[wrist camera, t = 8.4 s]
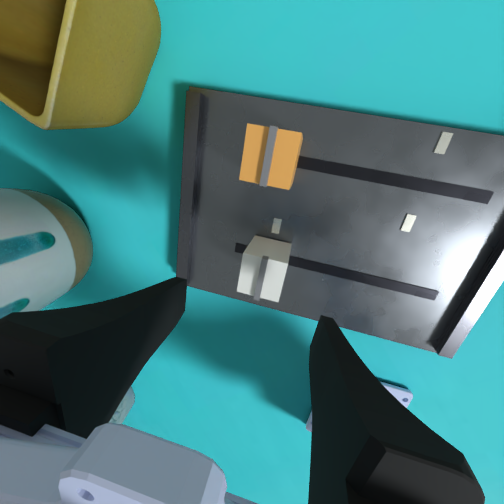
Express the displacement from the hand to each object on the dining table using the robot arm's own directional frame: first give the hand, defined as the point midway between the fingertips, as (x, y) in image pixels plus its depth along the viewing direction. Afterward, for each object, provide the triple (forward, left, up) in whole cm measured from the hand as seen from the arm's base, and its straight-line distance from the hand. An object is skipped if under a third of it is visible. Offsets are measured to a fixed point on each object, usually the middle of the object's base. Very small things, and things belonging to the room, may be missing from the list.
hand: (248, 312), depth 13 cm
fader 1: (+7, +1, -8) cm, 11 cm away
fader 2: (0, 0, -8) cm, 8 cm away
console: (+3, -4, -9) cm, 11 cm away
